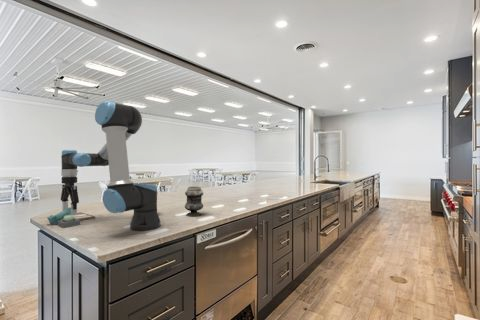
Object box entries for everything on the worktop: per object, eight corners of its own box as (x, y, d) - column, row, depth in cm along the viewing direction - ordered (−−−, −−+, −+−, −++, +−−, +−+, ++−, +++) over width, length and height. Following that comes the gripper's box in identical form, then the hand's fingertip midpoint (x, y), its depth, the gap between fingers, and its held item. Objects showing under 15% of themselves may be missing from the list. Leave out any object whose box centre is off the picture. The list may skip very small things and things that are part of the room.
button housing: (80, 224, 134) (80, 220, 134) (63, 227, 128) (63, 223, 128) (74, 222, 139) (74, 218, 139) (57, 225, 132) (57, 220, 132)
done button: (75, 220, 134) (75, 215, 134) (66, 222, 130) (66, 217, 130) (71, 219, 136) (71, 214, 136) (62, 221, 133) (62, 215, 133)
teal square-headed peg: (72, 207, 141) (50, 218, 132) (75, 213, 142) (54, 225, 133) (68, 206, 143) (47, 217, 134) (71, 212, 145) (50, 223, 135)
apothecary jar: (201, 217, 153) (201, 188, 153) (182, 216, 153) (182, 188, 153) (204, 212, 165) (204, 186, 165) (187, 212, 165) (187, 186, 165)
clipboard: (95, 218, 149) (95, 215, 149) (65, 223, 136) (65, 220, 136) (80, 213, 161) (80, 211, 161) (51, 218, 148) (51, 216, 148)
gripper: (85, 176, 139) (85, 215, 139) (68, 175, 152) (68, 210, 152) (70, 177, 133) (70, 217, 133) (53, 175, 146) (53, 212, 146)
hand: (69, 213), depth 142 cm, fingers open, 11 cm apart
